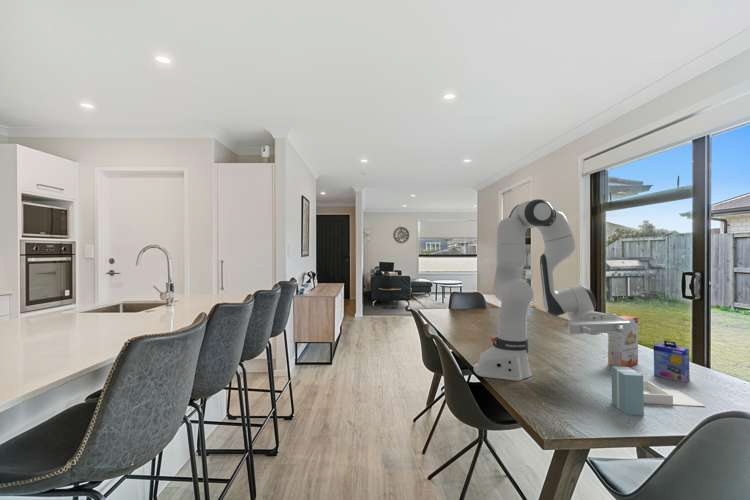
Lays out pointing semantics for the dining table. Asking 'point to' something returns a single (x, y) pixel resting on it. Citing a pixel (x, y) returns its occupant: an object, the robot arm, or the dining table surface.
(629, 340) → the cracker box
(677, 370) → the ink cartridge box
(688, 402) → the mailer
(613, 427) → the dining table surface
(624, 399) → the gift box
